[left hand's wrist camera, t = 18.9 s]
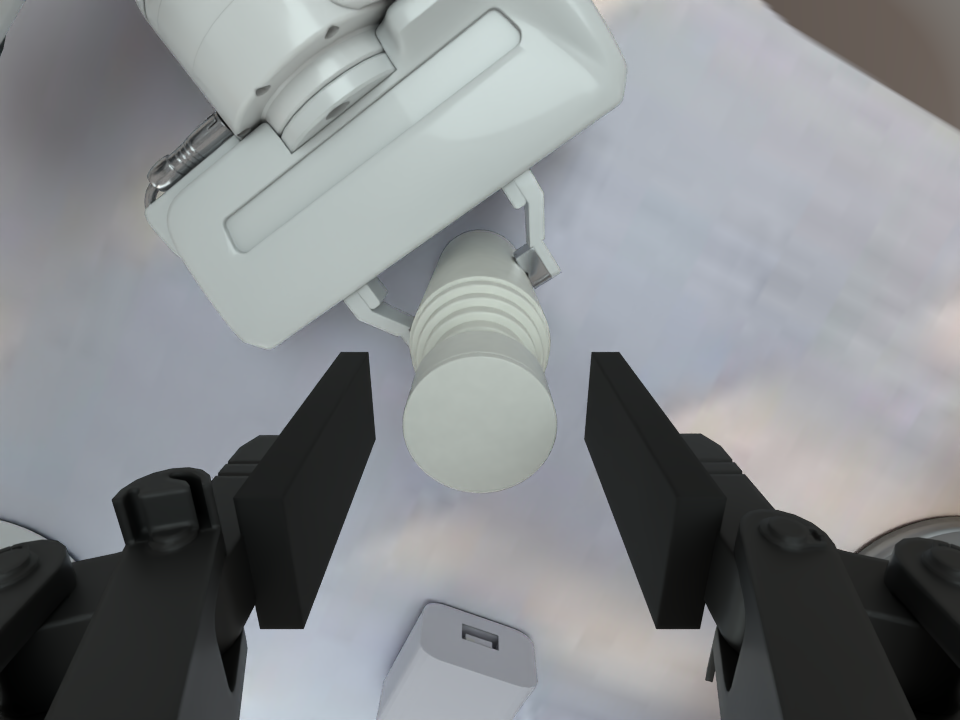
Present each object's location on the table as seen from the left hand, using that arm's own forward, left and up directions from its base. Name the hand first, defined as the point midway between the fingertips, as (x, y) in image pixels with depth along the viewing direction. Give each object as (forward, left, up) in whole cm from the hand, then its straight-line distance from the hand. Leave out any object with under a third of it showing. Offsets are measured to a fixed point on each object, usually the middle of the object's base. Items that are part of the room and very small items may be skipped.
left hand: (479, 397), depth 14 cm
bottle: (0, 0, -17) cm, 17 cm away
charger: (+21, +27, -17) cm, 38 cm away
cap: (0, 0, +1) cm, 1 cm away
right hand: (0, +1, -11) cm, 11 cm away
